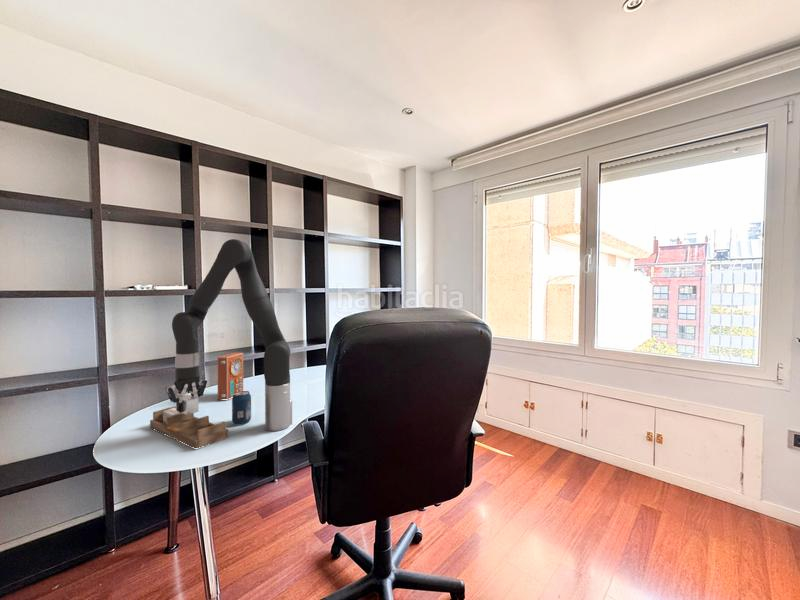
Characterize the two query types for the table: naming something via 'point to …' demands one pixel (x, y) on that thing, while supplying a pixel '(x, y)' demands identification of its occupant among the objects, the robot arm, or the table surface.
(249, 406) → the soda can
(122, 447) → the table surface
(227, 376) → the control panel
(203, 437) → the rack
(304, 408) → the table surface
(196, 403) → the white rectangular block
